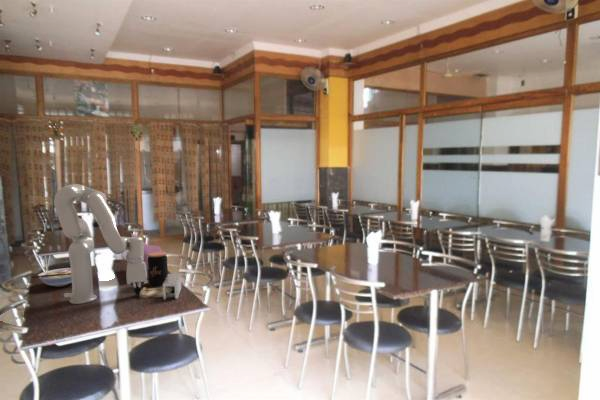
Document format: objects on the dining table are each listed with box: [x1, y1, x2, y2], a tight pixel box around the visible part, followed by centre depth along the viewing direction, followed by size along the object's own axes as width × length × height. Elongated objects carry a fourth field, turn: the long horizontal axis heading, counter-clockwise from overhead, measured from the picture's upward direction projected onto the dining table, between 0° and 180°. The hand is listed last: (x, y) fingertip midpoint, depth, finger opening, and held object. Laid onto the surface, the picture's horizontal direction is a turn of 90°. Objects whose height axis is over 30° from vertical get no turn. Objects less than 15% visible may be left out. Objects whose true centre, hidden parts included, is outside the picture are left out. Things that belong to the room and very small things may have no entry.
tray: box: [139, 286, 173, 299], centre depth 225 cm, size 15×10×3 cm, turn 98°
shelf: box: [162, 272, 183, 300], centre depth 226 cm, size 7×20×8 cm, turn 10°
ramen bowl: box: [31, 267, 72, 288], centre depth 245 cm, size 25×23×8 cm
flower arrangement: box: [125, 232, 163, 278], centre depth 266 cm, size 35×24×28 cm
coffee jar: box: [148, 251, 169, 287], centre depth 244 cm, size 11×11×18 cm
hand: (138, 294), depth 224 cm, fingers closed
